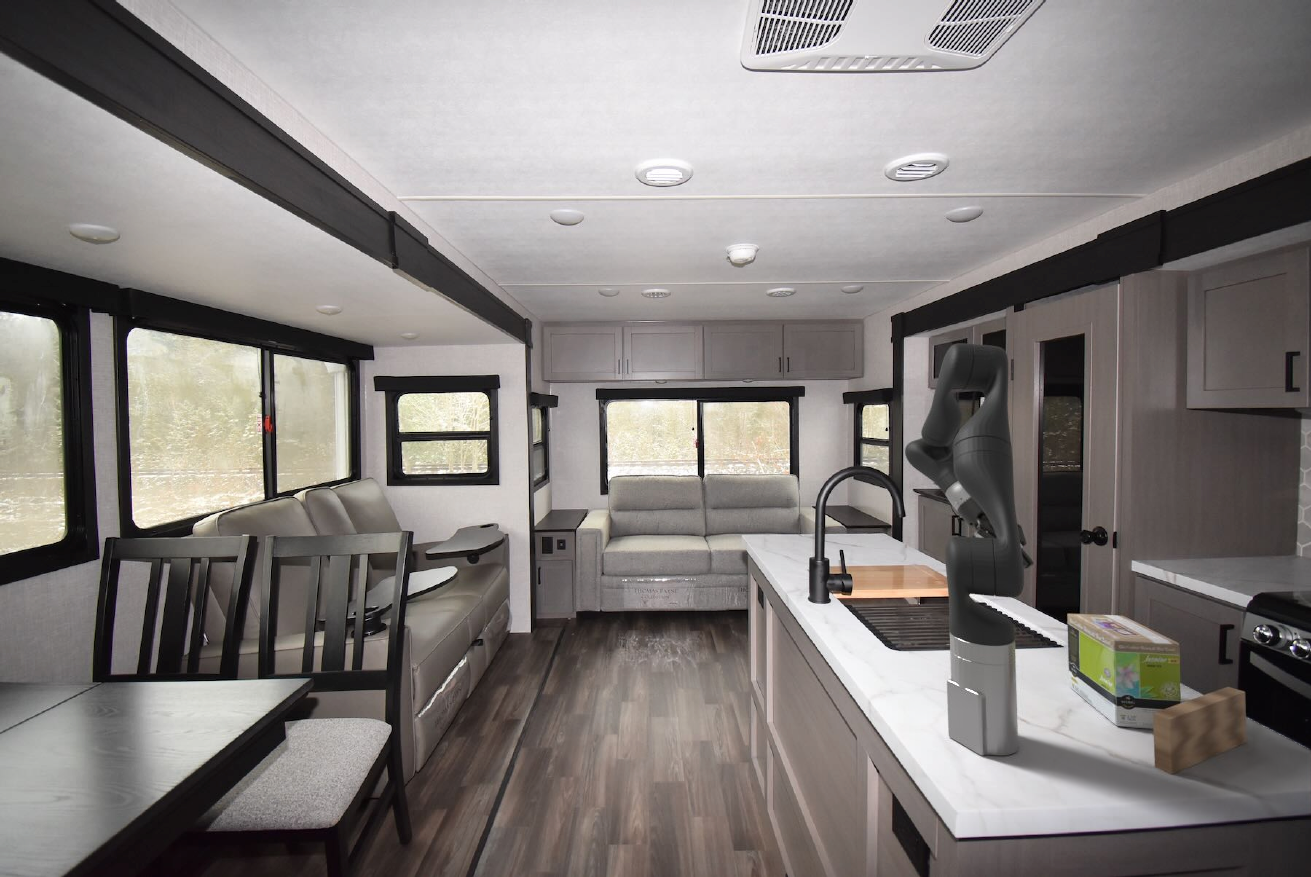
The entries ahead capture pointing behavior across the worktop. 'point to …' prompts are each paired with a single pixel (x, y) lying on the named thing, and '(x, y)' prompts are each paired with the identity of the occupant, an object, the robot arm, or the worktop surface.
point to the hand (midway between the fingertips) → (1026, 566)
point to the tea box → (1122, 668)
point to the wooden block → (1199, 729)
